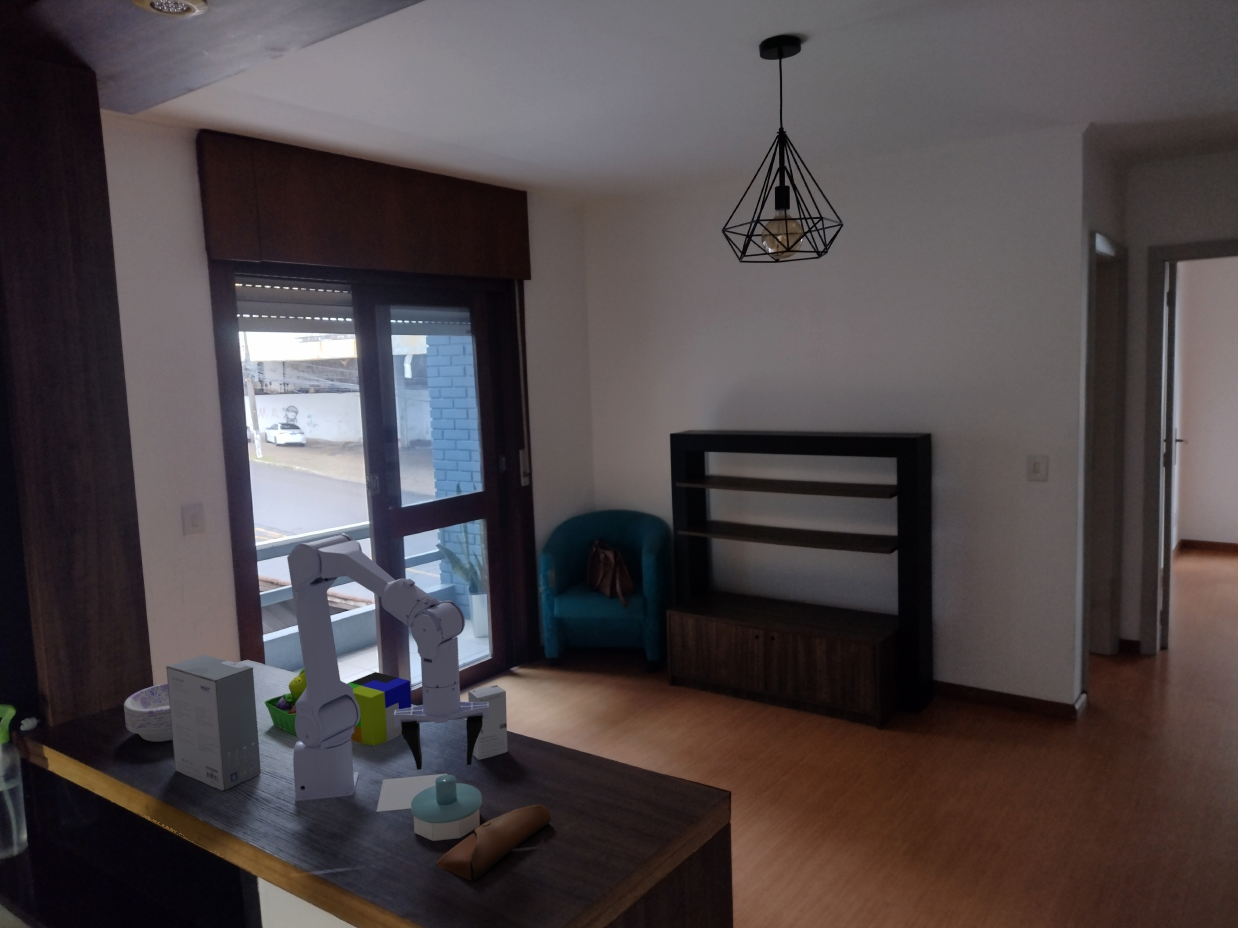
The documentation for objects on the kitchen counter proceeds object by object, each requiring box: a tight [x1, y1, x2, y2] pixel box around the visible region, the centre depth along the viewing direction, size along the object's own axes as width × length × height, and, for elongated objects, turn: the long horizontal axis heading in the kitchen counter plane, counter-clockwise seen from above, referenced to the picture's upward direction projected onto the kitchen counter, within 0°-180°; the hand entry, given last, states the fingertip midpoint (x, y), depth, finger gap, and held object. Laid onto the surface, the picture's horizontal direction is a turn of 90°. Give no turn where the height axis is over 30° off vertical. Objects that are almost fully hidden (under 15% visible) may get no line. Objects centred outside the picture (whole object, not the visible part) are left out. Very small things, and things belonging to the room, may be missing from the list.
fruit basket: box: [264, 668, 307, 736], centre depth 175 cm, size 11×9×11 cm
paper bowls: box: [123, 682, 173, 743], centre depth 173 cm, size 15×15×8 cm
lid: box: [410, 774, 483, 823], centre depth 136 cm, size 11×11×4 cm
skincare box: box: [467, 684, 508, 761], centre depth 160 cm, size 6×4×12 cm
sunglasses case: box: [435, 803, 551, 883], centre depth 130 cm, size 18×7×7 cm
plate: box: [376, 773, 448, 813], centre depth 146 cm, size 11×11×1 cm
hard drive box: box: [165, 654, 262, 792], centre depth 154 cm, size 16×8×20 cm, turn 57°
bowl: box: [413, 808, 481, 842], centre depth 136 cm, size 10×10×3 cm
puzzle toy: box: [346, 671, 412, 747], centre depth 171 cm, size 10×10×10 cm
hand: (444, 764), depth 136 cm, fingers open, 7 cm apart
